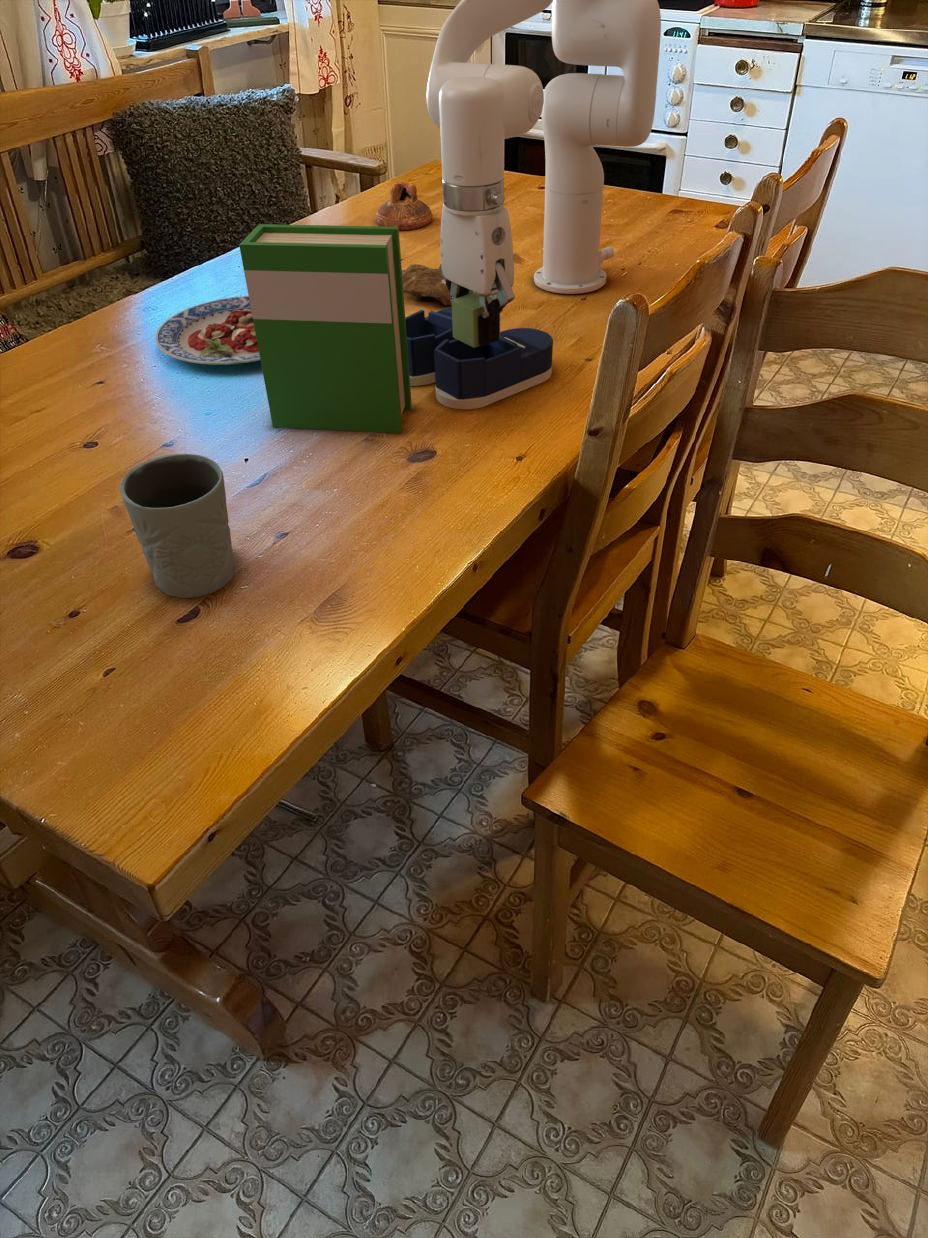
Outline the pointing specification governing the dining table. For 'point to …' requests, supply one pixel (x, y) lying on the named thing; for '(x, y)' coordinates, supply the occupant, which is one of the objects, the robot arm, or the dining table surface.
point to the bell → (403, 208)
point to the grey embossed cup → (181, 522)
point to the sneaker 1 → (426, 342)
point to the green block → (467, 319)
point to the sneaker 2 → (491, 368)
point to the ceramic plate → (211, 333)
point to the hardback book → (330, 325)
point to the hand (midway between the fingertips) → (476, 335)
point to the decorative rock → (425, 283)
